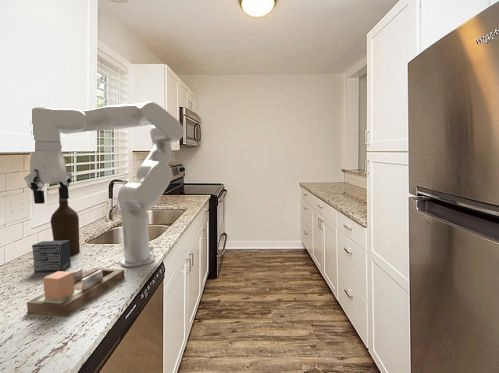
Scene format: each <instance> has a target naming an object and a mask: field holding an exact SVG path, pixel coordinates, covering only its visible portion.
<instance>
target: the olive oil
mask: <svg viewBox="0 0 499 373" xmlns="http://www.w3.org/2000/svg"><path fill="white" fill-rule="evenodd" d="M58 200H59V201H58V204H59V206H58V208H57V209H56V210H55V211H54V212H53V213H52V215H51V217H50V226H51V233H52V238H53V239H52V241H64V240H69V247H70V256H74V255H76V254H79V253H80V248H81V247H80V218H79V214H78V212H77V211H75V209H73V208H72V207H70V206H69V200H68V199H60V198H59V197H58Z"/></svg>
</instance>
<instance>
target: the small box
mask: <svg viewBox="0 0 499 373" xmlns="http://www.w3.org/2000/svg"><path fill="white" fill-rule="evenodd" d="M31 249H32V257H33V266H34V273H55V272H57V271H63V272H65V271H66V270H67V269H68V268H70V267H71V266H72V260H71V255H70V247H69V240H64V241H54V240H44V241H40V242H37V243H33V244H32V245H31Z"/></svg>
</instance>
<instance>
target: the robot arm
mask: <svg viewBox="0 0 499 373" xmlns="http://www.w3.org/2000/svg"><path fill="white" fill-rule="evenodd" d="M31 109H32V108H31ZM32 124H33V135H34V140H35V141H36V142H35V152H31V153H30V158H29V159H30V160H29V173H28V174H27V175H26V176H25V177H24V178H23V179H24V181H25V182H26V184H27V185H26V186H27V187H28V188H29V189H30V191H31V192H32V194H33V201H34V202H33V203H34V204H41V205H42V204H43V205H44V204H45V203H46V202H45V191H44V190H43V188H44V186H45V184H46V185H47V184H48V185H49V184H57V185H58V196H59V197H58V199H59V198H60V199H67V200H68V199H69V198H70V197H69V187H70V183H71V182H72V176H73V173H72V172H70V171H68V170H67V166H66V165H67V164H66V162H65V156H64V154H63V151H62V148H63V147H62V142H61V134H65V135H69V134H75V133H85V132H94V131H95V132H96V131H109V130H110V131H112V130H119V129H127V128H128V129H129V128H137V127H144V126H149V125H150V126H151V128H150V130H149V131H150V133H149V134H150V139H151V142H152V148H151V150H150V152H149V154H148V155H147V156H146V158H145V159H144V161H143V162H142V163H141V164H140V166H139V167H138V169H137V170H136V179H137V181H139V182H140V183H139V182H138V183H137V182H130V183H126V184H124V185H123V186H121V187H120V188H119V190H118V192H117V193H118V195H117V199H118V204H119V209H120V213H121V214H120V215H121V224H122V227H121V228H122V240H123V241H122V242H123V258H121V260H120V261H119V262H120V263H119V264H120V265H121V266H122V267H127V268H132V267H133V268H134V267H135V268H136V267H141V266H142V267H143V266H146V265H149V264H150V263H153V262H154V260H155V257H154V255H153V254H151V252H152V251H154V250H155V249H154V248H155V247H154V246H153V245H151V246H150V240H149V238H150V235H149V218H148V212H147V210H149V209H151V208H153V207H154V206H155V205H156V204H157V203H158V201H159V200H160V199H161V197H162V196H163V195H164V193H165V191H166V189H167V188H168V187H169V185H170V184H171V181H172V178H173V169H172V168H171V166H170V165H169V163H170V161H171V159H172V157H173V153H172V145H171V143H173V142H178V141H180V140H181V139H182V138H183V136H184V130H185V129H184V127H183V125H182V123H181V122H180V121H179V120H178V119H176V117H174V116H173V115H172V114H171V113H169V112H168V110H166V109H165V108H163V107H162V106H161V105H159V104H158V103H156V102H154V101H145V102H142V103H133V104H132V103H131V104H120V105H119V104H117V105H116V104H115V105H113V104H112V105H105V106H102V107H97V108H92V109H86V110H79V109H77V108H76V109H75V108H51V107H42V106H41V107H40V106H39V107H33V109H32Z"/></svg>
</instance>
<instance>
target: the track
mask: <svg viewBox="0 0 499 373" xmlns="http://www.w3.org/2000/svg"><path fill="white" fill-rule="evenodd" d="M72 272H73V282H74V293H72V294H70V295H69V296H67V297H65V298H63V299H62V300H53V299H45V293H42V294H40V295H38V296H37V297H34V298H33V299H30V300H29V301H27V302H26V306H27V307H26V308H27V313H28V314H37V315H44V316H45V315H46V316H48V315H49V316H56V317H57V316H59V317H67V316H69V315H70V314H72V313H73V312H75V311H76V310H78V309H79V308H81V307H83V306H84V305H85V304H87V303H88V302H91V301H92V300H94V299H95V298H96V297H98V296H100V295H101V294H103V293H104V292H105V291H107V290H109V289H110V288H112V287H113V286H115V285H116V284H118V283H120V282H121V281H122V280H125V269H119V268H118V269H117V268H115V269H114V268H101V267H98V268H97V267H93V268H91V269H88V270H86V272H83V268H78V269H75V270H74V271H72Z"/></svg>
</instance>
